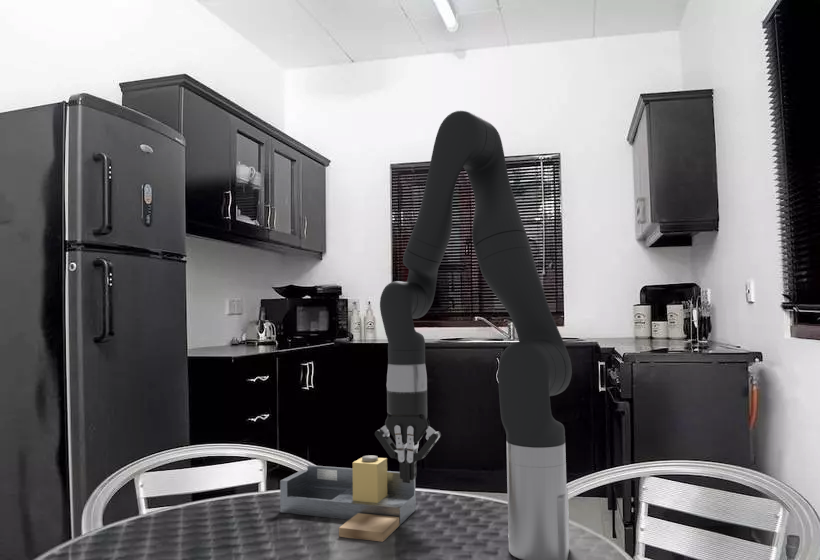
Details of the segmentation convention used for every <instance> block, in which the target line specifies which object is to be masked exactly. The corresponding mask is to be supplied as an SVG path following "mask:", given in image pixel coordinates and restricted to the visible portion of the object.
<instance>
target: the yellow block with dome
mask: <svg viewBox="0 0 820 560" xmlns="http://www.w3.org/2000/svg"><path fill="white" fill-rule="evenodd" d="M352 468H353V501H363V502H373V503H378V502H379V501H381V500H382V499H383V498H385V497H386V496H387V471H388V458H387V457H378V455H369V454H368V455H363V456H362V457H360V458H358V459H357V460H354V461H353V462H352Z"/></svg>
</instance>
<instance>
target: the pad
mask: <svg viewBox="0 0 820 560" xmlns="http://www.w3.org/2000/svg"><path fill="white" fill-rule="evenodd" d="M399 527H400V525H399V517H391V516H382V515H372V514H362V513H358V514H356V515H355V516H354V517H352V518H351V519H350V520H349V519H347V520H346V521H345V522H344V523H343V524H342V525H341V526H339V527H338V537H340V538H346V539H347V538H348V539H357V540H365V541H373V542H374V541H375V542H384V541H385V540H386V539H387V538H389V536H391V535H392V534H393V532H395V531H396V529H398V528H399Z"/></svg>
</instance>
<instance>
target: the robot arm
mask: <svg viewBox="0 0 820 560" xmlns="http://www.w3.org/2000/svg"><path fill="white" fill-rule="evenodd" d="M433 143H434V145H433V149H432V153H431V159H430V164H429V168H428V172H427V177H426V181H425V186H424V191H423V195H422V200H421V204H420V207H419V208H420V209H419V212H418V215H417V218H416V221H415V224H414V227H413V229H412V232H411V233H410V234H411V235H410V237H409V239H408V242H407V245H406V247H405V250H404V253H403V256H402V257H403V258H402V263H403V266H405V267H406V268H407V269H408V275H407V280H406V281H398V280H396V281H392V282H389V283H388V284H386V286H385V287H384V288H383V290H382V292H381V295H380V300H379V311H380V316H381V321H382V323H383V328H384V332H385V336H386V339H387V345H388V346H387V359H388V360H387V373H386V384H385V385H386V412H387V416H386V419H385V422H384V425H383V426H382V427H380V428H379V429H377V430H375V432H374V436H375V437H376V439H377V440H378V442H379V443H380V445H381V447H382V448H383V449H384V450H385V452H386V453H387V456H389V457H390V458H391V459H395V460H397V461H398V462H399V472H400V479H402V480H403V483H412V482H413V480H414V479H415V480H416V478H417V462H418V461H421V460H423V459H424V458H425V457H426V456H427V455H428V454H429V452H431V450H432V449H433V447H434V446H435V444H436V443H437V442H438V441H439V439H440V438H441V436H442V434H441V432H440V431H436V430H435V429H434V428H433V427H431V423H430V420H429V417H428V375H427V367H426V339H425V337H424V335H423V334H422V333H420V332H419V331H418V332H417V331H416V329H415V323H414V320H416V319H420V318H422V317H424V316H425V315H426V314H427V313H428V311H429V310H430V308H431V307H432V305H433V302H434V298H435V295H436V287H437V280H438V273H439V267H440V265H441V262H442V261H443V258H444V256H445V253H446V250H447V248H448V246H449V242H450V238H451V236H452V235H451V234H452V230H453V205H454V204H453V201H454V193H455V189H456V185H457V182H458V181H457V180H458V179H459V176H460V174H461V172H462V170H463V169H464V170H465V172H466V175H467V178H468V180H469V182H470V186H471V189H472V192H473V195H474V196H473V197H474V204H475V205H474V214H473V221H472V227H471V239H472V245H473V249H474V252H475V255H476V259H477V263H478V266H479V269H480V272H481V274H482V278H484V280H485V282H486V283H487V286H488V287H489V288H490V290H491V291H492V293H493V294H494V295H495V297H496V298H497V299H498V300H499V302H500V304H501V305H502V306H503V307H504V309H505V310H506V311H507V313H508V315H509V317H510V319H511V321H512V323H513V326H514V328H515V332H516V334H517V335H516V336H517V339H518V341H516V342H513V343H511V344H510V345H508V346H507V347H506V348H505V349H504V350H503V352H502V354H501V355H500V359H499V363H498V370H497V371H498V372H497V380H498V381H497V383H498V395H499V397H498V398H499V410H500V418H501V419H500V420H501V423H502V425H503V428H504V431H505V435H506V477H507V478H506V482H507V483H506V484H507V487H506V489H507V490H506V491H507V523H508V525H507V527H508V528H507V529H508V531H507V532H508V535H507V540H508V551H509V554H510V555H512V556H513V557H514V558H517V559H519V560H568V558H569V552H570V516H569V515H570V514H569V511H570V507H569V488H568V487H567V462H566V461H567V460H566V459H567V458H566V457H567V456H566V429H565V425H564V424H563V423H561V422H560V421H558V420H556V419H555V418H554V417H553V414H552V409H551V398H550V397H553V396H557V395H559V394H561V393H563V392H564V391H566V389H567V388H568V387H569V385H570V382H571V379H572V375H573V374H572V373H573V371H572V369H573V367H572V362H571V358H570V356H569V352H568V350H567V347H566V344H565V342H564V340H563V338H562V335H561V333H560V330H559V328H558V326H557V323H556V321H555V319H554V316H553V314H552V312H551V309H550V307H549V304H548V301H547V297H546V293H545V291H544V287H543V284H542V281H541V278H540V276H539V273H538V269H537V266H536V262H535V260H534V254H533V251H532V248H531V244H530V241H529V237H528V235H527V232H526V229H525V226H524V223H523V220H522V217H521V214H520V212H519V207H518V204H517V201H516V197H515V195H514V192H513V189H512V185H511V182H510V178H509V174H508V168H507V163H506V157H505V152H504V147H503V142H502V139H501V136H500V133H499V131H498V130H497V128H496V127H495V126H494V125H493V124H491V122H489V121H488V120H485V119H484V118H482V117H480V116H478V115H476V114H474V113H472V112H471V111H467V110H456V111H453V112H451V113H449V114H448V115H447V116H446V117H445V118H444V119H443V121H442V122H441V123H440V126H439V127H438V130H437V133H436V137H435V140H434V142H433ZM425 434H426V435H425ZM390 435H391V436H392V438H393V439H394V441H395V442H394V441H393V439H392V438H391V437H390ZM424 436H425V439H426V441H425V443H424V444H423V445H422V447H421V448H420V449H419V445H420V444H419V443H420V441H421V440H422V438H423V437H424ZM418 449H419V451H418Z"/></svg>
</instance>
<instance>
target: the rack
mask: <svg viewBox="0 0 820 560" xmlns="http://www.w3.org/2000/svg"><path fill="white" fill-rule="evenodd" d="M279 486H280V489H279V491H280V492H279V493H280V495H279V496H280V498H279V500H280V502H279V503H280V505H279V508H280V513H282V514H283V513H284V514H285V513H286V514H293V515H301V516H303V515H304V516H311V517H312V516H313V517H321V518H332V519H342V520H350V519H351V518H352V517H354V516H355V515H356V514H358V513H362V514H372V515H382V516H391V517H399V526H401V525H402V524H403V523H404V522H405V521H406V520H407V519H408V518H409V517H410V516H412V514H414V512H415V511H417V510H416V509H417V506H416V504H417V502H416V500H417V499H416V478H415V479H414V480H413V482H412V483H403V480H402V479H400V471H391V470H387V496H386V497H385V498H383V499H382V500H381V501H379V502H378V503H373V502H363V501H353V467H352V468H351V467H339V466H338V467H337V466H327V465H326V466H323V465H315V464H314V465H312V464H310V465H307V469H301V470H298V471H297V472H294V473H293V474H290V475H289V476H287V477H284V478H283V479H280V485H279Z"/></svg>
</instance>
